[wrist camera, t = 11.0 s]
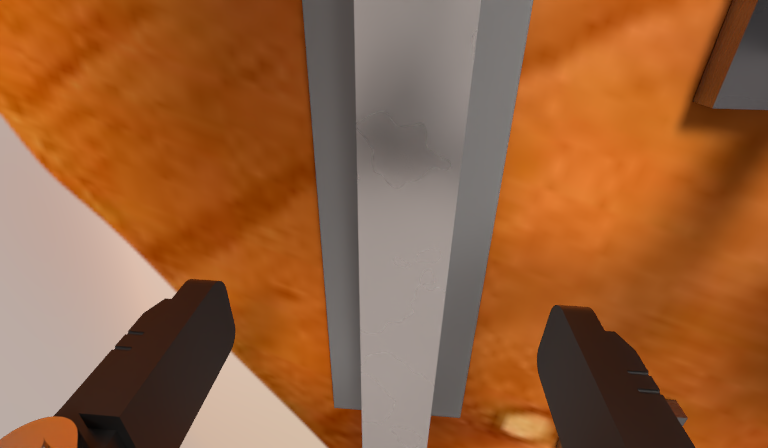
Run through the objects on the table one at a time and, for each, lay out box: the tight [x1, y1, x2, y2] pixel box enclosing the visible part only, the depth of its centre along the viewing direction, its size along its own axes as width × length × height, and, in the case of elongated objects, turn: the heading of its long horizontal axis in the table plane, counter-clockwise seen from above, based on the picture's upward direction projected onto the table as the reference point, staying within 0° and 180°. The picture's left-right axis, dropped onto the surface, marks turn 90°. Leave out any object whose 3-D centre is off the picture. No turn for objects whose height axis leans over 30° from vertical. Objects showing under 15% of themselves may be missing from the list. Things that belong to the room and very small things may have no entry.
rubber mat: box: [302, 0, 533, 418], centre depth 15 cm, size 25×7×1 cm, turn 179°
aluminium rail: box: [354, 0, 481, 448], centre depth 14 cm, size 24×3×3 cm, turn 179°
